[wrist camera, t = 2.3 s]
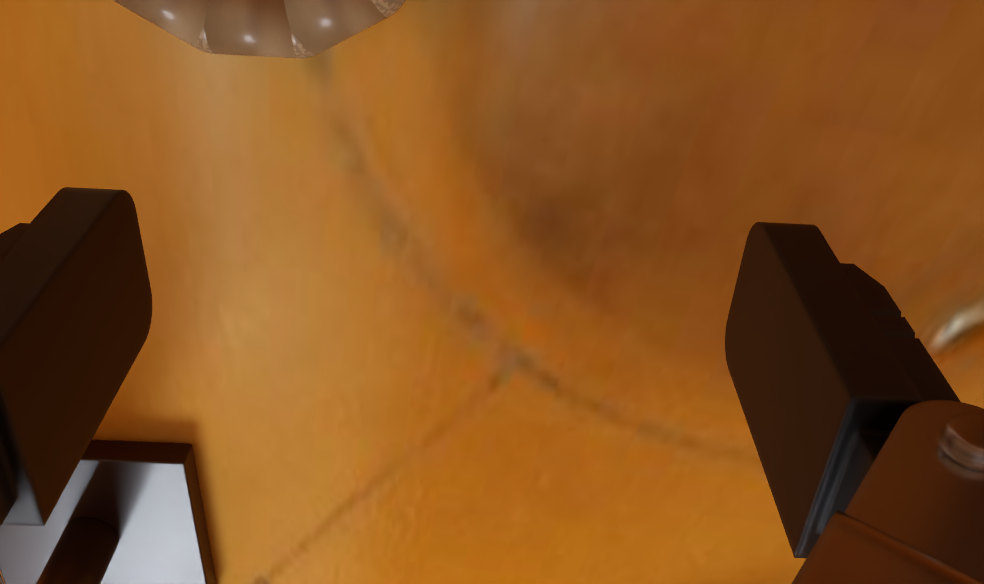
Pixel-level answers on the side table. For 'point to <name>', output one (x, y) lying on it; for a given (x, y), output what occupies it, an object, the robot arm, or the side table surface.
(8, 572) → the peg stand
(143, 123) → the side table surface
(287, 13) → the ring
